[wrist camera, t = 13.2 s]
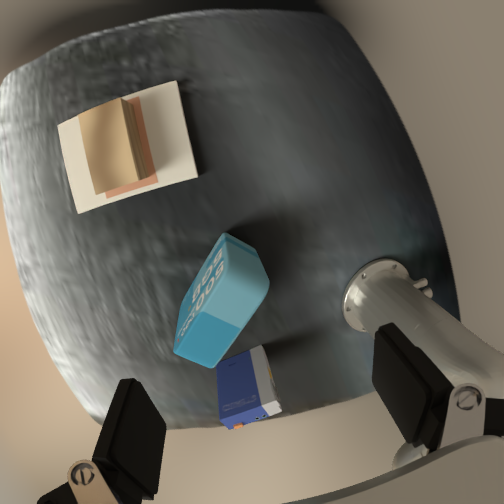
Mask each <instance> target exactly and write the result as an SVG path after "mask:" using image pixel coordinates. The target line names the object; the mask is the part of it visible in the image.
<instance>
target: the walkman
mask: <svg viewBox="0 0 504 504" xmlns="http://www.w3.org/2000/svg"><path fill="white" fill-rule="evenodd" d="M216 370H217V388H218V404H219V419H220V421H221V422H222V423H223V424H224V425H225V426H226V427H227V428H228V429H233V428H235V429H237V428H240V427H243V425H245V424H248V423H251V422H254V421H257V420H260V419H263V418H266V417H268V416H271V415H274V414H276V413H279V412H281V411H282V409H281V406H280V402H279V401H280V397H279V394H278V390H277V387H276V386H275V384H274V381H273V377H272V374H271V370H270V367H269V363H268V360H267V356H266V354H265V350H264V349H263V347H262V345H260V346H257V347H255V348H252V349H250V350H248V351H246V352H243V353H241V354H238V355H236V356H234V357H231V358H229V359H226V360H224V361H221V362H218V364H217V365H216Z"/></svg>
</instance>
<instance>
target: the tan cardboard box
mask: <svg viewBox="0 0 504 504" xmlns="http://www.w3.org/2000/svg"><path fill="white" fill-rule="evenodd" d="M78 118H79V124H80V130H81V135H82V140H83V145H84V149H85V154H86V159H87V163H88V167H89V171H90V175H91V179H92V183H93V187H94V191H95V194H96V195H98V194H101V193H104V192H106V191H109V190H112V189H115V188H118V187H121V186H124V185H127V184H130V183H133V182H136V181H139V180H142V179H145V178H148V177H149V174H148V170H147V166H146V161H145V157H144V153H143V149H142V144H141V140H140V136H139V131H138V126H137V122H136V117H135V112H134V107H133V105H132V104H131V103H129V102H127V101H126V100H124V99H122V98H117V99H115V100H112V101H110V102H107V103H104V104H102V105H100V106H97V107H95V108H92V109H90V110H88V111H86V112H83V113H81V114H79V115H78Z"/></svg>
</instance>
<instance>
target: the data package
mask: <svg viewBox="0 0 504 504" xmlns="http://www.w3.org/2000/svg"><path fill="white" fill-rule="evenodd" d="M268 289H269V279H268V276H267V274H266V272H265V270H264V267H263V265H262V263H261V261H260V258H259V256H258V254H257V252H256V250H255V249H254V248H253V247H251V246H249V245H247V244H246V243H244V242H242V241H240V240H239V239H237V238H235V237H233V236H231V235H230V234H228V233H223V234H222V235H221V236H220V238H219V239H218V241H217V242H216V244H215V246H214V247H213V249H212V251H211V252H210V254H209V256H208V257H207V259H206V261H205V263H204V264H203V266H202V268H201V269H200V271H199V273H198V274H197V276H196V278H195V280H194V281H193V283H192V285H191V286H190V288H189V290H188V292H187V293H186V295H185V297H184V299H183V301H182V304H181V307H180V312H179V318H178V324H177V330H176V336H175V343H174V353H175V354H177V355H179V356H181V357H184V358H186V359H189V360H191V361H193V362H196V363H198V364H201V365H203V366H206V367H208V368H213V367H215V366H216V365H217V364H218V362H219V361H220V360H221V358H222V357H223V356H224V354H225V353H226V352H227V350H228V349H229V347H230V346H231V345H232V343H233V342H234V341H235V339H236V338H237V336H238V335H239V334H240V332H241V331H242V329H243V328H244V327H245V325H246V324H247V322H248V321H249V320H250V318H251V317H252V315H253V314H254V313H255V311H256V310H257V308H258V307H259V306H260V304H261V303H262V301H263V300H264V298H265V296H266V294H267V292H268Z"/></svg>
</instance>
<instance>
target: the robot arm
mask: <svg viewBox="0 0 504 504" xmlns="http://www.w3.org/2000/svg"><path fill="white" fill-rule="evenodd" d="M427 284H428V282H427V279H426V278H422V279H419V280H418V281H414V280H412V279H411V278H410V277H409V273H408V272H407V270H406V268H405V267H404V266H403V265H402V264H400V263H399V262H397V261H395V260H393V259H387V258H386V259H378V260H375V261H372V262H370V263H368V264H366V265H365V266H364V267H362V268H361V269H360V270H359V271H358V272H357V273H356V274H355V275H354V276H353V277H352V279H351V280H350V282H349V283H348V285H347V287H346V289H345V292H344V295H343V299H342V312H343V316H344V318H345V320H346V321H347V322H348V324H349V325H350V326H351V327H352V328H354V329H356V330H358V331H361V332H368V333H369V334H370V335H371V336H372V337H373V339H374V358H373V372H372V382H373V385H374V387H375V389H376V391H377V392H378V394H379V395H380V397H381V399H382V401H383V402H384V404H385V406H386V407H387V409H388V411H389V413H390V414H391V416H392V418H393V419H394V421H395V423H396V424H397V426H398V428H399V430H400V431H401V433H402V435H403V437H404V439H405V440H406V442H405V443H404V444H403V445H402V446H401V448H400V449H399V450H398V451H397V453H396V455H395V457H394V459H393V464H392V471H390V472H388V473H385V474H383V475H380V476H378V477H375V478H373V479H370V480H367V481H365V482H362V483H359V484H356V485H353V486H350V487H347V488H344V489H340V490H337V491H334V492H330V493H327V494H323V495H319V496H315V497H312V498H307V499H303V500H298V501H294V502H289V503H283V504H504V354H503V353H502V352H500V351H498V350H496V349H495V348H494V347H492V346H491V345H489V344H488V343H486V342H484V341H483V340H482V339H480V338H479V337H478V336H477V335H475V334H474V333H473V332H471V331H470V330H469V329H467V328H466V327H465V326H464V325H463V324H462V323H460V322H459V321H458V320H457V319H455V318H454V317H453V316H452V315H450V314H449V313H448V312H447V311H445V310H444V309H443V308H442V307H440V306H439V305H438V304H437V303H435V302H434V301H433V300H431V299H430V298H431V297H432V295H433V294H432V290H431V289H430V288H429V287H427V288H425V289H423V290H418V288H422V287H424V286H426V285H427ZM165 435H166V423H165V421H164V420H163V418H162V416H161V415H160V413H159V412H158V410H157V409H156V407H155V406H154V404H153V402H152V401H151V399H150V397H149V396H148V394H147V392H146V391H145V389H144V387H143V386H142V384H141V382H139V381H137V380H136V379H134V378H130V379H121V380H120V382H119V384H118V387H117V389H116V392H115V394H114V397H113V399H112V402H111V405H110V407H109V410H108V413H107V416H106V418H105V421H104V424H103V427H102V430H101V432H100V436H99V439H98V441H97V444H96V447H95V450H94V454H93V456H92V457H93V458H92V461H90V460H80V461H77V462H76V463H74V464H73V465H72V466H71V467H70V469H69V471H68V476H67V477H68V482H67V483H65V484H63V485H61V486H59V487H58V488H56V489H54V490H52V491H51V492H49V493H47V494H46V495H43V496H42V497H41V498H40V499H39V500H38V501H37V504H141V503H142V499H143V500H154V494H157V492H158V486H159V485H158V484H159V478H160V470H161V463H162V455H163V448H164V442H165Z"/></svg>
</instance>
